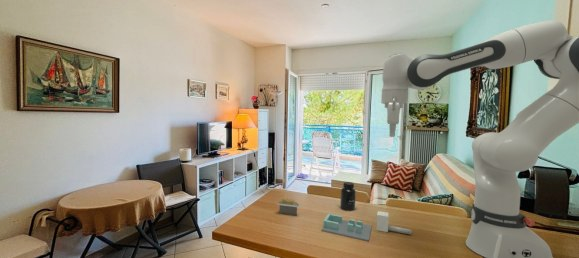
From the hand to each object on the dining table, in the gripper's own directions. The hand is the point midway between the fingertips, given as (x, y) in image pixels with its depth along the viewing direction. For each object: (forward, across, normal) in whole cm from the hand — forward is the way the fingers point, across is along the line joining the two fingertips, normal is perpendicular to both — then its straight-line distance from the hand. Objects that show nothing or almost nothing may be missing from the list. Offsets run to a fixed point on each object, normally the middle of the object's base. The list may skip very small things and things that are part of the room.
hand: (392, 135), depth 88 cm
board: (+37, -6, +14) cm, 40 cm away
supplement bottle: (+37, +15, +18) cm, 44 cm away
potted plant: (+38, -3, +41) cm, 55 cm away
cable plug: (+37, 0, -2) cm, 37 cm away
